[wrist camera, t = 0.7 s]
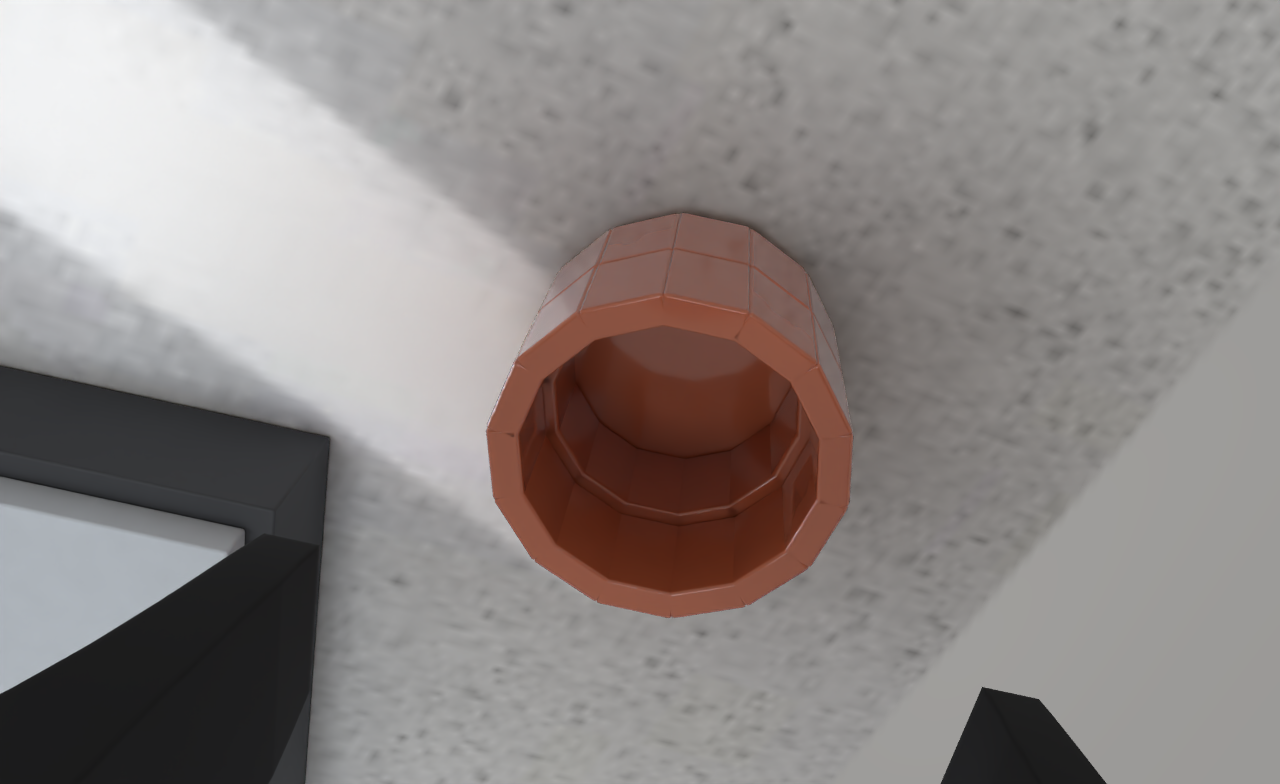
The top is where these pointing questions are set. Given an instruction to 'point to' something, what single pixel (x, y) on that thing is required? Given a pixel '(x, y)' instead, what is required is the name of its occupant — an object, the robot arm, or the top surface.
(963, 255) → the top surface
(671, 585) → the flower pot
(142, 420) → the scale
